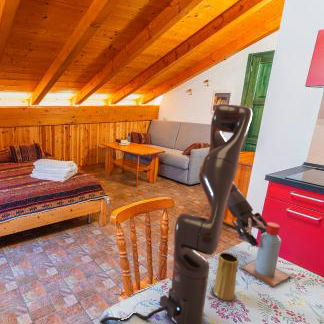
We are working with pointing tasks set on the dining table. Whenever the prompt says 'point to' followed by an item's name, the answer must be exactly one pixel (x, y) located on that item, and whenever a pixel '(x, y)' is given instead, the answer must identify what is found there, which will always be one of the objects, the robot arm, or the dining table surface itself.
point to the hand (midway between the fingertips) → (262, 242)
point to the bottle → (267, 254)
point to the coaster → (272, 280)
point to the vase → (226, 276)
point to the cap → (272, 228)
